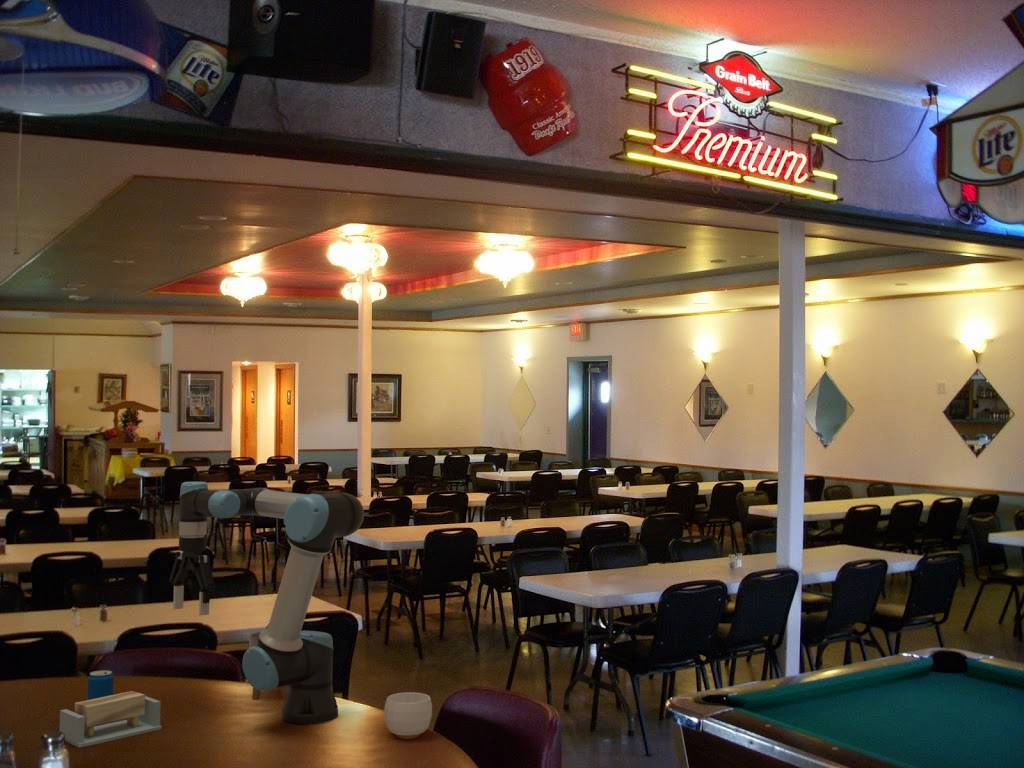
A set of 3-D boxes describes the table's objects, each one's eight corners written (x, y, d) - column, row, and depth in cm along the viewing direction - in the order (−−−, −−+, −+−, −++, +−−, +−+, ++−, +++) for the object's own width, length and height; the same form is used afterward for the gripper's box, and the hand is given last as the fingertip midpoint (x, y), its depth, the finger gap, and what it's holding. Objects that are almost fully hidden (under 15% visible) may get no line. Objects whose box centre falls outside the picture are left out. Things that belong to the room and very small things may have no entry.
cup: (412, 745, 258) (412, 706, 259) (374, 737, 265) (374, 699, 265) (441, 733, 269) (441, 696, 269) (403, 726, 275) (404, 689, 276)
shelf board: (144, 714, 270) (145, 694, 270) (86, 727, 258) (87, 707, 258) (131, 710, 274) (132, 690, 274) (74, 722, 261) (75, 702, 262)
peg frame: (161, 729, 270) (162, 702, 270) (79, 747, 253) (80, 718, 254) (138, 720, 278) (139, 693, 278) (57, 737, 261) (58, 709, 262)
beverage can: (117, 715, 282) (118, 671, 283) (101, 721, 276) (102, 676, 276) (98, 713, 284) (99, 669, 285) (81, 719, 278) (82, 674, 279)
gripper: (229, 538, 288) (227, 615, 287) (181, 532, 304) (179, 604, 303) (205, 540, 282) (203, 619, 281) (158, 533, 299) (156, 607, 298)
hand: (190, 611), depth 292 cm, fingers open, 13 cm apart
